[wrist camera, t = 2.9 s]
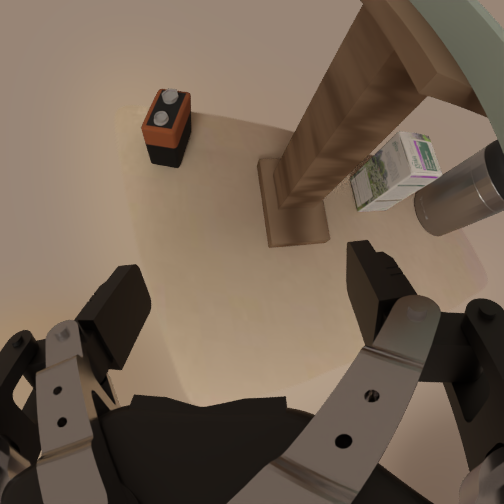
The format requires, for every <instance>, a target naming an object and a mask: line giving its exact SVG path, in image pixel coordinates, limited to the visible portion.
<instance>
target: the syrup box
mask: <svg viewBox="0 0 504 504" xmlns="http://www.w3.org/2000/svg"><path fill="white" fill-rule="evenodd" d="M441 176H442V171H441V168H440V166H439V163H438V160H437V157H436V154H435V151H434V149H433V146H432V144H431V141H430V139H429V136H426V135H422V134H417V133H411V132H401V131H399V132H397V133H396V134H395V135H394V136H393V137H392V138H391V139H390V140H389V141H388V142H387V143H386V144H385V145H384V146H383V147H382V148H381V149H380V150H379V151H378V152H377V153H376V154H375V155H374V156H373V157H372V158H371V159H370V160H368V162H367V163H365V164H364V165H363V166H362V167H361V168H360V169H359V170H358V171H357V172H356V173H355V174H354V175H353V176H352V177H351V178H350V182H351V185H352V189H353V193H354V198H355V202H356V206H357V211H358V212H364V211H386V210H388V209H389V208H391V207H392V206H394V205H395V204H397V203H398V202H400V201H402V200H403V199H405V198H406V197H408V196H410V195H411V194H413V193H415V192H416V191H418V190H420V189H421V188H423V187H425V186H426V185H428V184H430V183H431V182H433V181H435V180H436V179H438V178H439V177H441Z"/></svg>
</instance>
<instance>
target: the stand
mask: <svg viewBox="0 0 504 504" xmlns="http://www.w3.org/2000/svg"><path fill="white" fill-rule="evenodd" d="M360 1H361V2H362V3H363V5H362V7H361V9H360V11H359V13H358V15H357V16H356V18H355V20H354V22H353V24H352V25H351V27H350V29H349V31H348V33H347V35H346V37H345V38H344V40H343V42H342V44H341V46H340V48H339V49H338V51H337V53H336V55H335V57H334V59H333V61H332V62H331V64H330V66H329V68H328V70H327V72H326V74H325V76H324V77H323V79H322V81H321V83H320V85H319V87H318V89H317V91H316V93H315V94H314V96H313V98H312V100H311V102H310V104H309V106H308V108H307V110H306V112H305V114H304V115H303V117H302V119H301V121H300V123H299V125H298V127H297V129H296V131H295V133H294V135H293V137H292V139H291V140H290V142H289V144H288V146H287V148H286V150H285V152H284V154H283V156H282V158H281V159H259V162H258V164H257V169H258V176H259V183H260V190H261V197H262V204H263V211H264V218H265V225H266V232H267V239H268V247H269V248H272V247H284V246H295V245H306V244H317V243H325V242H327V241H328V240H330V235H329V230H328V224H327V219H326V214H325V209H324V204H323V199H324V198H325V197H326V196H327V195H328V194H329V193H330V192H331V191H332V190H333V189H334V188H335V187H336V186H337V185H338V184H339V183H340V182H341V181H342V180H343V179H344V178H345V177H346V176H347V175H348V174H349V173H350V172H351V171H352V170H353V169H354V168H355V167H356V166H357V165H359V164H360V163H361V162H362V161H363V160H364V159H365V158H366V157H367V156H368V155H369V154H370V153H371V152H372V151H373V150H374V149H375V148H376V147H377V146H378V145H379V144H380V143H381V142H382V141H383V140H384V139H385V138H386V137H387V136H388V135H389V134H390V133H391V132H392V131H393V130H394V129H395V128H396V127H397V126H398V125H399V124H400V123H401V122H402V121H403V120H404V119H405V118H406V117H407V116H408V115H409V114H410V113H411V112H412V111H413V110H414V109H415V108H416V107H417V106H418V105H419V104H420V103H421V102H422V101H423V100H424V99H425V98H426V97H427V96H430V97H434V98H436V99H439V100H442V101H446V102H448V103H451V104H454V105H457V106H460V107H462V108H465V109H467V110H470V111H473V112H475V113H478V114H480V115H483V116H485V117H487V115H486V113H485V111H484V109H483V107H482V105H481V103H480V101H479V99H478V97H477V95H476V94H475V92H474V90H473V88H472V87H471V85H470V83H469V81H468V80H467V78H466V76H465V75H464V73H463V71H462V70H461V68H460V67H459V65H458V64H457V62H456V60H455V59H454V57H453V56H452V54H451V53H450V52H449V50H448V49H447V47H446V46H445V44H444V43H443V42H442V40H441V39H440V38H439V36H438V35H437V34H436V32H435V31H434V30H433V28H432V27H431V26H430V24H429V23H428V22H427V21H426V20H425V18H424V17H423V16H422V15H421V13H420V12H419V11H418V10H417V9H416V8H415V6H414V5H413V4H412V3H411V2H410V1H409V0H360ZM487 118H488V117H487Z"/></svg>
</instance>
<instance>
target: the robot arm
mask: <svg viewBox="0 0 504 504" xmlns="http://www.w3.org/2000/svg"><path fill="white" fill-rule="evenodd" d="M415 209H416V213H417V216H418V219H419V221H420V223H421V224H422V226H423V227H424V228H425V229H426V230H427V231H428V232H429V233H430V234H432V235H435V236H442V235H444V234H447V233H450V232H452V231H455V230H457V229H460V228H463V227H465V226H468V225H470V224H473V223H475V222H477V221H480V220H482V219H485V218H487V217H490V216H492V215H494V214H497V213H499V212H501V211H504V153H503V151H502V148H501V146H500V143H499V141H498V140H496V141H494V142H492V143H491V144H489V145H488V146H486V147H485V148H483V149H482V150H480V151H479V152H477V153H476V154H474V155H473V156H471V157H470V158H468V159H467V160H465V161H463V162H462V163H460V164H459V165H457V166H456V167H454V168H453V169H451V170H449V171H448V172H446V173H445V174H443V175H442V176H441V177H439V178H438V179H436V180H435V181H433V182H431V183H430V184H428V185H426V186H425V187H423V188H421V189H420V190H419V191H418V192H417V194H416V196H415ZM346 283H347V292H348V296H349V299H350V301H351V304H352V307H353V310H354V313H355V316H356V319H357V322H358V325H359V328H360V331H361V334H362V337H363V340H364V343H365V346H364V347H363V348H362V349H361V351H360V352H359V354H358V355H357V357H356V358H355V360H354V361H353V363H352V364H351V366H350V367H349V369H348V370H347V372H346V373H345V375H344V376H343V378H342V379H341V381H340V382H339V383H338V385H337V386H336V388H335V389H334V391H333V392H332V393H331V395H330V396H329V398H328V399H327V400H326V402H325V403H324V404H323V406H322V407H321V408H320V410H319V411H318V412H317V413H316V415H314V414H311V413H308V412H305V411H301V410H297V409H292V408H287V402H286V397H285V396H284V397H270V398H247V399H241V400H236V401H232V402H227V403H222V404H218V405H213V406H207V407H199V406H195V405H191V404H187V403H184V402H181V401H177V400H174V399H170V398H167V397H155V396H144V395H134V396H133V398H132V401H131V404H130V405H128V406H124V407H121V406H120V404H119V401H118V398H117V395H116V393H115V390H114V387H113V384H112V381H111V378H110V376H109V375H108V373H107V372H108V370H109V369H115V370H122V368H123V366H124V364H125V362H126V360H127V358H128V356H129V354H130V352H131V350H132V348H133V345H134V343H135V341H136V339H137V337H138V335H139V333H140V331H141V329H142V327H143V325H144V323H145V321H146V319H147V317H148V315H149V313H150V310H151V298H150V295H149V292H148V290H147V287H146V284H145V282H144V279H143V276H142V273H141V271H140V268H139V267H138V266H137V265H136V264H134V265H124V266H118V267H117V268H116V270H115V271H114V272H113V273H112V275H111V276H110V277H109V279H108V280H107V281H106V282H105V283H103V284H102V285H101V286H100V287H99V288H98V289H97V291H96V292H95V293H94V295H93V296H92V297H91V298H90V300H89V302H87V304H86V305H85V306H84V308H83V309H82V310H81V312H80V313H79V314H78V316H77V317H76V318H75V320H66V321H63V322H60V323H58V324H57V325H55V326H54V327H53V328H52V329H51V330H50V331H49V332H48V334H47V336H46V339H43V340H38V341H36V340H35V338H34V337H33V335H32V334H31V332H30V331H28V330H23V331H20V332H18V333H16V334H15V335H13V336H12V337H11V338H10V339H9V340H8V342H7V343H6V344H5V346H4V347H3V349H2V350H1V352H0V504H433V503H432V502H431V501H429V500H428V499H426V498H425V497H423V496H422V495H421V494H419V493H418V492H416V491H415V490H414V489H412V488H411V487H409V486H408V485H407V484H405V483H404V482H402V481H401V480H400V479H399V478H397V477H396V476H395V475H393V474H392V473H391V472H389V471H388V470H387V469H385V468H384V467H383V466H381V465H380V464H379V463H378V462H379V460H380V459H381V457H382V455H383V454H384V452H385V450H386V448H387V446H388V444H389V443H390V441H391V439H392V437H393V435H394V433H395V431H396V429H397V427H398V425H399V423H400V421H401V419H402V417H403V415H404V413H405V411H406V409H407V406H408V404H409V402H410V400H411V397H412V395H413V392H414V390H415V388H416V386H417V383H418V381H419V382H421V381H422V382H443V385H444V387H445V390H446V393H447V396H448V399H449V401H450V404H451V407H452V410H453V413H454V416H455V420H456V423H457V426H458V430H459V433H460V436H461V440H462V443H463V447H464V451H465V455H466V459H467V463H468V467H469V471H470V473H468V474H467V476H466V477H465V478H464V480H463V481H462V484H461V486H460V489H459V504H504V310H503V308H502V307H501V306H500V305H498V304H497V303H495V302H493V301H491V300H488V299H474V300H472V301H470V302H469V303H468V305H467V306H466V310H465V313H447V312H441V311H440V308H439V306H438V305H437V304H436V303H435V302H434V301H433V300H431V299H430V298H427V297H424V296H420V295H417V293H416V292H415V290H414V289H413V287H412V286H411V284H410V283H409V281H408V280H407V278H406V277H405V275H404V274H403V272H402V271H401V269H400V268H398V265H397V263H396V262H395V260H394V259H393V258H392V257H390V256H389V255H387V254H386V253H384V252H376V251H375V250H374V248H373V247H372V245H371V244H370V242H369V241H368V240H362V241H353V242H348V243H347V270H346ZM22 375H23V376H24V377H25V378H26V380H27V381H28V382H29V383H30V385H31V386H32V387H33V390H32V392H31V394H30V396H29V398H28V399H27V402H26V404H25V405H24V407H23V409H22V410H21V409H20V408H19V407H18V406H17V405H16V404H15V402H14V400H13V390H14V388H15V387H16V385H17V383H18V381H19V379H20V378H21V376H22ZM41 450H42V456H41V458H39V459H38V457H39V454H40V451H41ZM37 459H38V461H37Z"/></svg>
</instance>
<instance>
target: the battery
mask: <svg viewBox="0 0 504 504" xmlns="http://www.w3.org/2000/svg"><path fill="white" fill-rule="evenodd" d="M141 129H142V132H143V136H144V139H145V143H146V146H147V150H148V153H149V156H150V160H151V163H153V164H157V165H163V166H169V167H174V168H178V167H179V166H180V164H181V161H182V158H183V155H184V152H185V149H186V146H187V143H188V140H189V137H190V134H191V96H190V93H188V92H181V91H177V90H176V89H167V90H166V89H160V90H159V91H158V92H157V94H156V96H155V98H154V100H153V103H152V105H151V107H150V109H149V111H148V113H147V115H146V118H145V120H144V122H143V124H142V127H141Z"/></svg>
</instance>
